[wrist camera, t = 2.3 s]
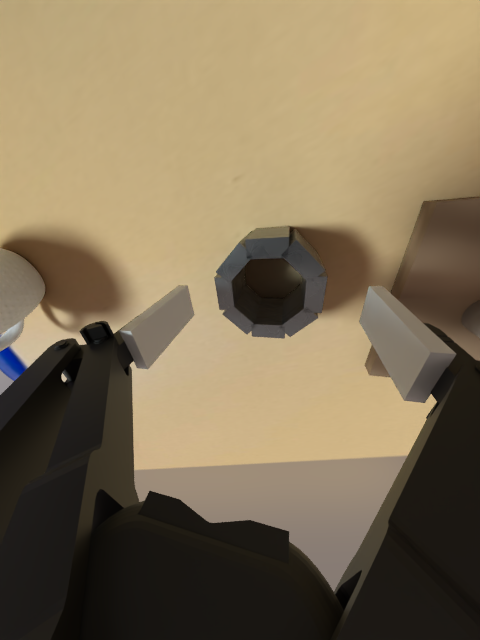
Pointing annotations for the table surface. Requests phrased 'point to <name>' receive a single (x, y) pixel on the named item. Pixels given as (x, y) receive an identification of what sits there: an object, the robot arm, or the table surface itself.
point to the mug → (17, 294)
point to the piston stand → (442, 274)
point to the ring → (271, 312)
